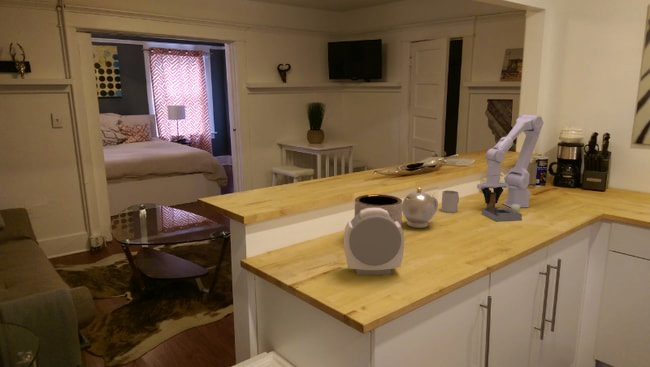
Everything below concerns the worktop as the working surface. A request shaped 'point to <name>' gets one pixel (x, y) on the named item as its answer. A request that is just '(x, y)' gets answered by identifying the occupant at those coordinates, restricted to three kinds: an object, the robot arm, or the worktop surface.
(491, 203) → the walnut dowel
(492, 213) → the collar plate
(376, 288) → the worktop surface
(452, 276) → the worktop surface
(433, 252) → the worktop surface
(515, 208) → the pale cream cylinder
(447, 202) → the cup
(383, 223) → the alarm clock
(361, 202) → the planter
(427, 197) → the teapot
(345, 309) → the worktop surface
